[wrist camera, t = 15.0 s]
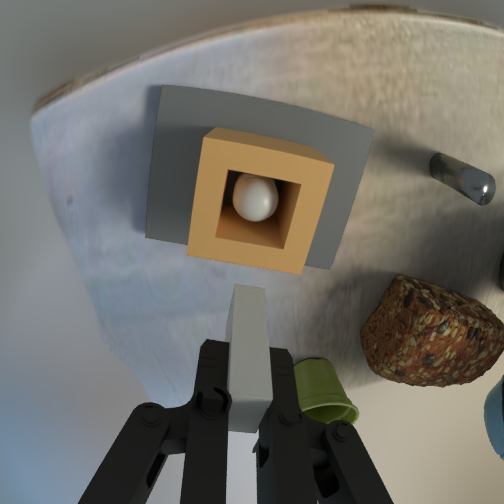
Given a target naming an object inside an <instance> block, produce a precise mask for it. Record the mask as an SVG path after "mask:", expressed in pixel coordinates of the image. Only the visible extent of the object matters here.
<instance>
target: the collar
mask: <svg viewBox="0 0 504 504" xmlns="http://www.w3.org/2000/svg"><path fill="white" fill-rule="evenodd" d="M334 166H335V164H333V163H332V162H331V161H330V160H328V159H327V158H326V157H325V156H323V155H322V154H321V153H320V152H318V151H317V150H316V149H315V148H313V147H311V146H307V145H303V144H299V143H295V142H290V141H286V140H281V139H277V138H272V137H268V136H263V135H258V134H253V133H248V132H242V131H237V130H231V129H225V128H219V127H215V128H214V129H213V130H212V131H210V132H209V133H208V134H207V135H206V136H204V138H203V144H202V150H201V156H200V162H199V168H198V175H197V181H196V188H195V195H194V202H193V209H192V217H191V224H190V232H189V241H188V249H187V255H188V256H193V257H199V258H205V259H210V260H216V261H222V262H228V263H233V264H239V265H245V266H251V267H257V268H263V269H269V270H275V271H280V272H286V273H293V274H299V275H301V273H302V270H303V267H304V264H305V261H306V258H307V255H308V252H309V249H310V245H311V242H312V239H313V236H314V233H315V230H316V226H317V223H318V220H319V217H320V214H321V210H322V207H323V204H324V200H325V197H326V193H327V190H328V187H329V183H330V180H331V176H332V173H333V169H334ZM229 170H234V171H240V172H245V173H250V174H255V175H261V176H266V177H270V178H275V179H280V180H283V184H282V188H281V192H280V196H279V201H278V206H277V208H276V212H274V213H273V214H272V215H271V216H270V217H269V218H267V219H265V220H263V221H257V222H254V221H249V220H246V219H244V218H243V217H241V216H240V215H239V214H238V213H237V211H236V209H235V207H234V204H231V203H225V202H223V200H224V195H225V189H226V184H227V179H228V173H229Z"/></svg>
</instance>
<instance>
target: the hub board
mask: <svg viewBox="0 0 504 504" xmlns="http://www.w3.org/2000/svg"><path fill="white" fill-rule="evenodd" d="M215 127H219V128H225V129H231V130H237V131H242V132H248V133H253V134H258V135H263V136H268V137H272V138H277V139H281V140H286V141H290V142H295V143H299V144H303V145H307V146H311V147H313V148H315V149H316V150H317V151H318V152H320V153H321V154H322V155H323V156H325V157H326V158H327V159H328V160H330V161H331V162H332V163H333V164H335V166H334V169H333V173H332V176H331V180H330V183H329V187H328V190H327V193H326V197H325V200H324V204H323V207H322V210H321V214H320V217H319V220H318V223H317V226H316V230H315V233H314V236H313V239H312V242H311V245H310V249H309V252H308V255H307V258H306V261H305V264H304V265H305V266H311V267H317V268H323V269H329V270H330V268H331V266H332V263H333V260H334V257H335V255H336V252H337V249H338V246H339V244H340V241H341V238H342V235H343V232H344V229H345V226H346V223H347V221H348V218H349V215H350V212H351V209H352V205H353V202H354V199H355V196H356V193H357V190H358V187H359V184H360V180H361V177H362V174H363V170H364V167H365V164H366V160H367V157H368V153H369V150H370V146H371V143H372V139H373V136H374V132H375V130H374V129H371V128H368V127H365V126H362V125H359V124H356V123H353V122H350V121H347V120H343V119H340V118H337V117H333V116H330V115H326V114H323V113H319V112H316V111H312V110H308V109H304V108H300V107H296V106H292V105H288V104H284V103H279V102H275V101H270V100H265V99H260V98H255V97H250V96H245V95H239V94H233V93H227V92H221V91H214V90H207V89H200V88H191V87H182V86H172V85H162V89H161V95H160V101H159V107H158V113H157V120H156V127H155V134H154V142H153V150H152V159H151V168H150V178H149V189H148V202H147V217H146V235H145V238H151V239H156V240H162V241H168V242H173V243H179V244H185V245H188V241H189V232H190V224H191V217H192V209H193V202H194V195H195V188H196V181H197V175H198V168H199V162H200V156H201V150H202V144H203V138H204V136H206V135H207V134H208V133H209V132H210V131H212V130H213V129H214V128H215ZM282 184H283V180H280V179H275V178H270V177H266V176H261V175H255V174H250V173H245V172H240V171H234V170H229V173H228V179H227V184H226V189H225V195H224V200H223V202H225V203H231V204H234V207H235V209H236V211H237V213H238V214H239V215H240V216H241V217H243V218H244V219H246V220H249V221H254V222H257V221H263V220H265V219H267V218H269V217H270V216H271V215H272V214H273V213H274V212H276V208H277V206H278V201H279V196H280V192H281V188H282Z"/></svg>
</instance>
